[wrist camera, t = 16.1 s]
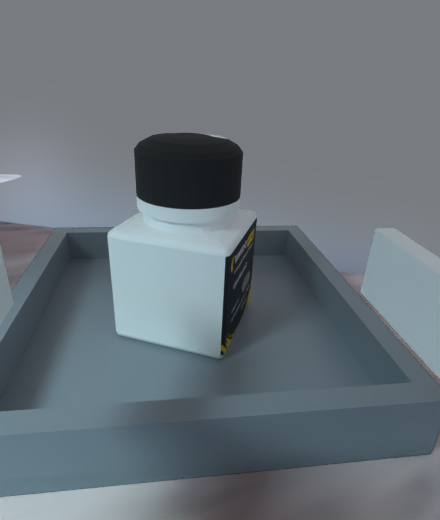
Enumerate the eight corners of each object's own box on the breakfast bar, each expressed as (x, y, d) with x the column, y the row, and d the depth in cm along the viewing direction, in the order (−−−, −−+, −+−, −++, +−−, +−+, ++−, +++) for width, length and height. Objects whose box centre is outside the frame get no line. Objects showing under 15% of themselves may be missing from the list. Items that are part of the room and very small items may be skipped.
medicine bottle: (222, 362, 22) (234, 152, 17) (114, 336, 24) (95, 138, 19) (250, 302, 28) (265, 133, 23) (162, 284, 30) (158, 125, 25)
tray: (-69, 503, 15) (-96, 443, 14) (61, 263, 35) (55, 227, 34) (430, 454, 18) (452, 400, 17) (292, 258, 38) (297, 225, 37)
